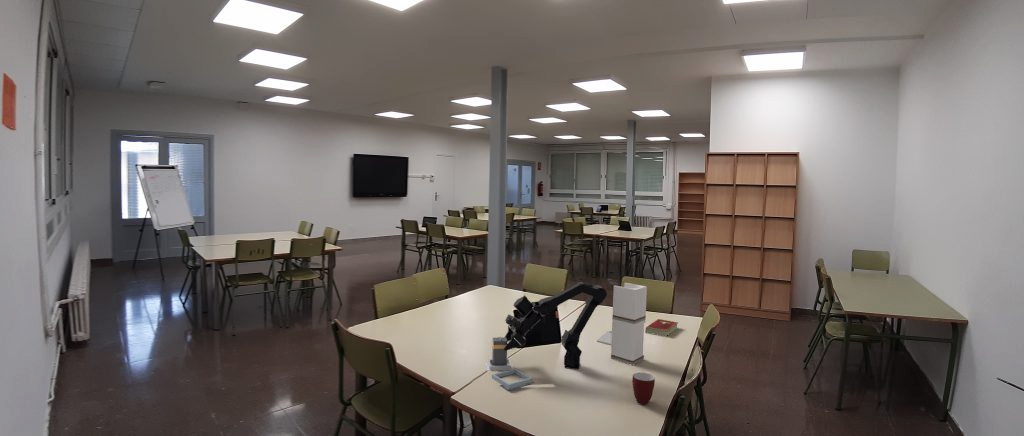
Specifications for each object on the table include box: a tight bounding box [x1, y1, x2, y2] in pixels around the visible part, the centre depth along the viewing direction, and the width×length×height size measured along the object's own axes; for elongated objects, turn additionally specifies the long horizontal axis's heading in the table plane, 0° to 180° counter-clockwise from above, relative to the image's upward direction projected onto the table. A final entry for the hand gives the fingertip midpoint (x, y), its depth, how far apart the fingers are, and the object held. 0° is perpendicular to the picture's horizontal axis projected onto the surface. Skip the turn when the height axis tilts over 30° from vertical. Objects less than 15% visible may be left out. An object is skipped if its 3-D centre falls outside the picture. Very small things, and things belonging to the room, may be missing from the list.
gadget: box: [596, 330, 612, 346], centre depth 252 cm, size 23×15×4 cm, turn 138°
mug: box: [631, 372, 656, 405], centre depth 180 cm, size 10×8×10 cm
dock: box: [484, 358, 515, 372], centre depth 209 cm, size 12×10×2 cm
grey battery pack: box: [491, 334, 508, 366], centre depth 209 cm, size 6×5×13 cm
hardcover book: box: [644, 318, 679, 337], centre depth 271 cm, size 12×21×4 cm, turn 145°
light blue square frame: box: [491, 368, 533, 392], centre depth 194 cm, size 12×12×2 cm
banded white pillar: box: [610, 282, 648, 366], centre depth 223 cm, size 11×11×35 cm
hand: (503, 346), depth 209 cm, fingers open, 9 cm apart
